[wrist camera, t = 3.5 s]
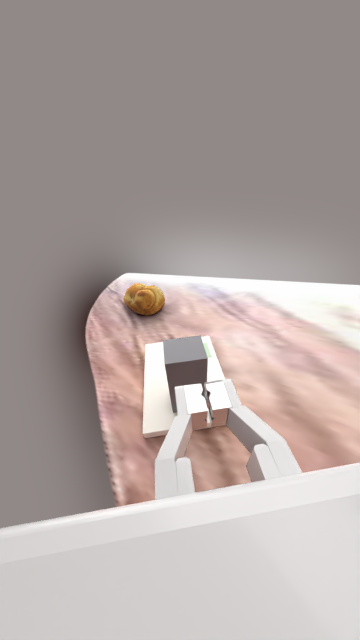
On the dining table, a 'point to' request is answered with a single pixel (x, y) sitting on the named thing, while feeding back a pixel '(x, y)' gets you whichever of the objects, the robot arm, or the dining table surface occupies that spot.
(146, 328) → the dining table surface
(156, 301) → the bread roll
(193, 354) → the switch tab
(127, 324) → the dining table surface
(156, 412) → the switch panel
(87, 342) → the dining table surface
